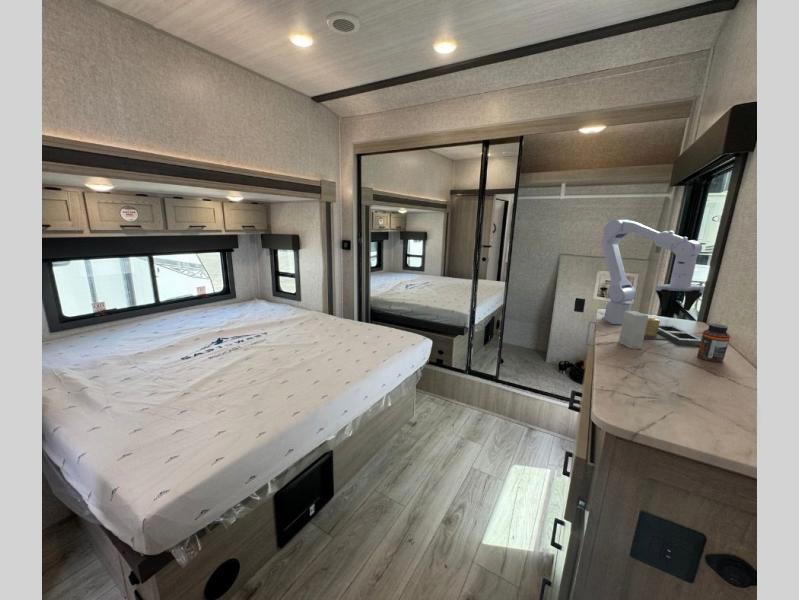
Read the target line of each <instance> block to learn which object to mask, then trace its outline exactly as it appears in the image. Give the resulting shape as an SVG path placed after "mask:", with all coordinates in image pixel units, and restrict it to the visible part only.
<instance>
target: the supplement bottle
mask: <svg viewBox="0 0 799 600" xmlns="http://www.w3.org/2000/svg"><path fill="white" fill-rule="evenodd" d="M700 339H701V342H700V346H698V351H697V356H698V358H700V359H702V360H705V361H709V362H711V363H712V362H713V363H721V362H724V360H725V356H726V352H727V349H728V347H729V342H730V339H731V335H730V333H728V326H727V325H725V324H720V323H709V325H708V328H707V329H705V330H703V331H702V335H701V338H700Z"/></svg>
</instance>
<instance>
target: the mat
mask: <svg viewBox="0 0 799 600" xmlns="http://www.w3.org/2000/svg"><path fill="white" fill-rule="evenodd" d="M644 340H656V341H657V340H659V341H668V339H666V338H665V337H663V336H661V335H659V334H657V337H650V336H644Z"/></svg>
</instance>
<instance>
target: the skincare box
mask: <svg viewBox="0 0 799 600" xmlns="http://www.w3.org/2000/svg"><path fill="white" fill-rule="evenodd" d="M648 317H649V315H647V314H645V313H641V312H639V311H635V310H630V311H624V316H623V322H622V324H621V328H620V334H619V338H618V343H619V344H622V345H623V346H625V347H626V348H629V349H633V350H634V349H638V350H639V349H641V350H642V349H643V344H644V341H645V339H644V335H645V330H646V325H647V320H648Z"/></svg>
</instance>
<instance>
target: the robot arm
mask: <svg viewBox="0 0 799 600" xmlns="http://www.w3.org/2000/svg"><path fill="white" fill-rule="evenodd" d="M602 230H603V235H602V241H601V245H602V249H603V253H604V256H605V261H606V265H607V269H608V273H609V277H610V281H611V282H610V283H609V285H608V290H609V293H608V298H609V301H608V302H607V303H606V305H605V306H606V307H605V311H604V316H602V319H603V320H605V321H606V322H607V323H609V324H611V325H622V322H623V316H624V311H631V307H632V300H634V299H635V298H636V296H637V291H636V289H635V288H634V286H633V283H632V282H631V281H630V280H629V279H628V278H627V275H626V271H625V267H624V263H623V259H622V255H621V251H620V248H619V242H620V241H621V240H622V239H623V238H624V237H626V236H627V235H629V234H630V233H631V234H633V233H634V234H636V235H638V236H642V237H643V238H648V239H650V240H653V242H654V244H655V246H657V247H661V248H663V249H665V250H667V251H670V252H671V253H674V255H675V258H674V263H673V267H672V272H671V277H670V280H669V281H670V282H669V284H668V283H667V284H655V288H654V290H655V292H656V294H657V297H658V300H659V306H660V307H659V308H660V309H661V310H662V311H663V310H664V311H666V310H667V308H668V304H669V300H670V297H671V296H672V292H673V291H675V292H677V291H678V292H684V303H683V310H684V311H688V312H689V311H690V310H691V308H692V306H693V305H694V304H695V303H696V301H697V300H698V299H699V298H701V297H702V295H703V292H704V291H705V286H703V285H693V284H692V281H693V277H694V272H695V268H696V263H697V259H698V255H699V254H700V253H701V252H702V250H703V246H702V244H701V243H700V242H699V241H697V240H696V239H690V240H689V237H687V236H680V235H677V234H675V231H673V230H669V231H668V230H664V231H662V232H660V231H657V230H656V229H653V228H651V227H649V226H646V225H644V224H642V223H639V222H637V221H635V220H634V221H633V220H630V219H611V220H609V221H608V222H607V223H606V224H605V226H603V229H602ZM670 291H672V292H670Z"/></svg>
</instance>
